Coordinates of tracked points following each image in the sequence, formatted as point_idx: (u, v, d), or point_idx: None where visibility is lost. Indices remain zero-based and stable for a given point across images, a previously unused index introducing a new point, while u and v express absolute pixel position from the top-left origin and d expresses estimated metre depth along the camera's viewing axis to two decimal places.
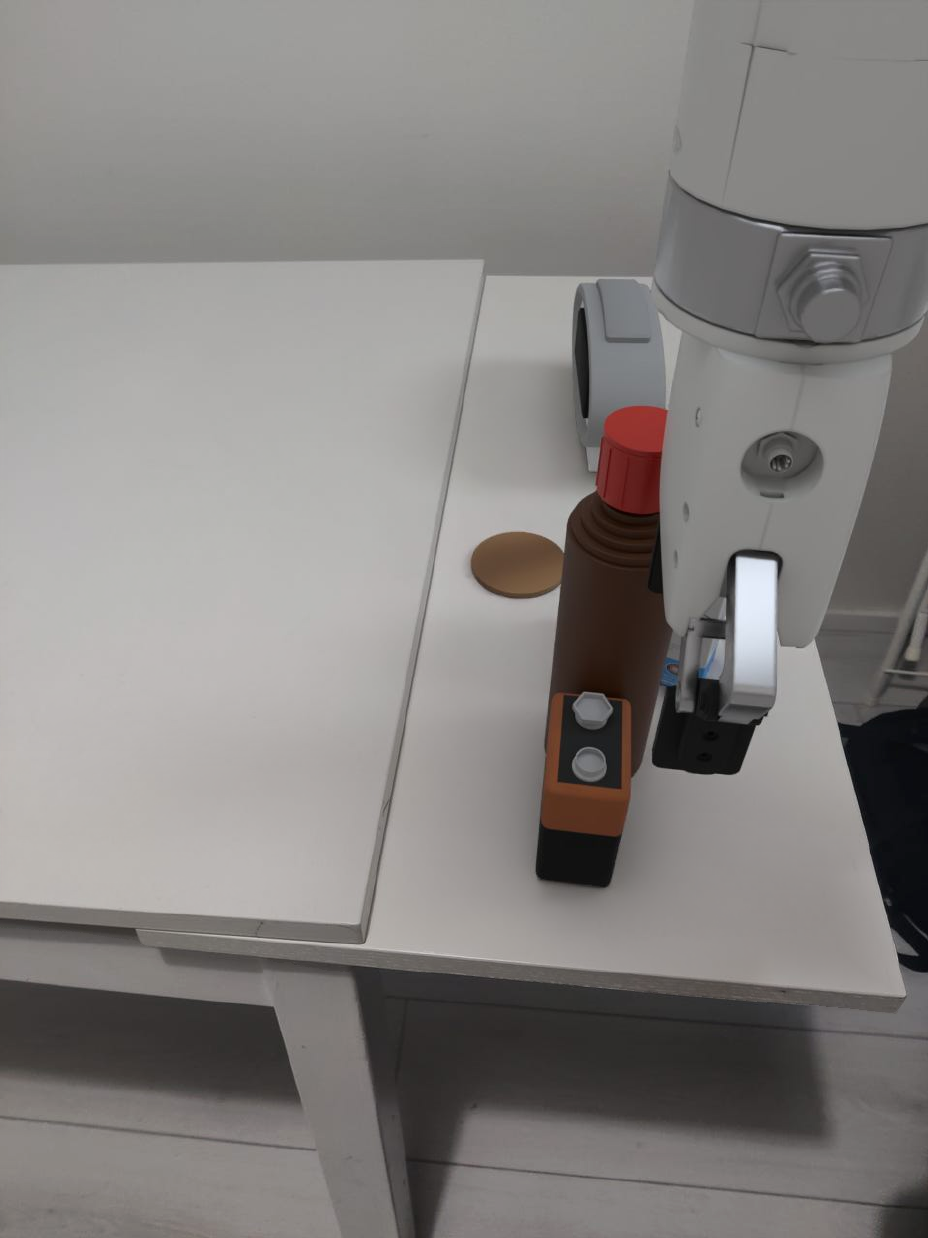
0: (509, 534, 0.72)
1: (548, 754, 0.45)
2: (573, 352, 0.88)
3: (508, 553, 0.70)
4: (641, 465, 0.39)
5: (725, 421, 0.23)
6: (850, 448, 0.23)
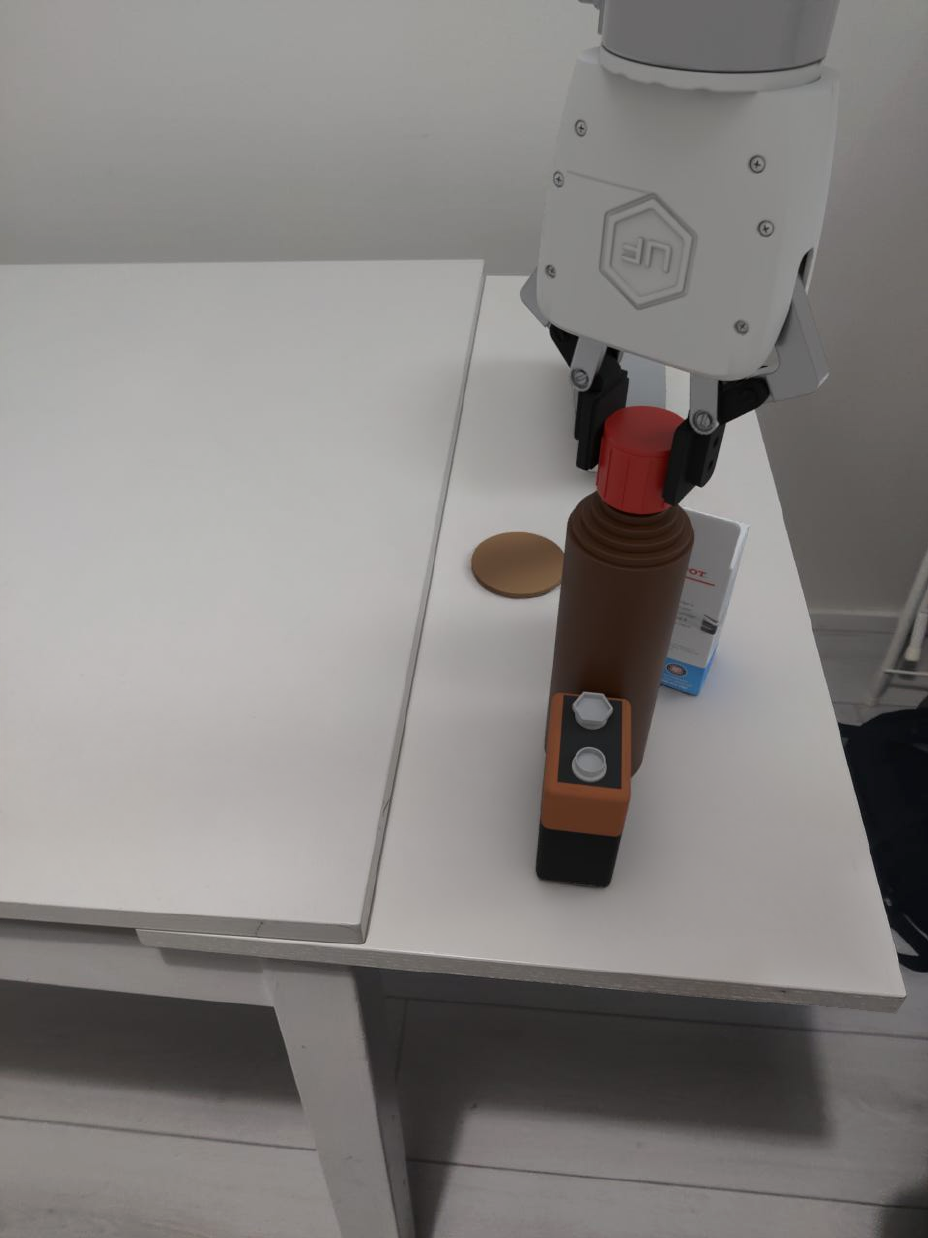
0: (509, 534, 0.72)
1: (548, 754, 0.45)
2: None
3: (508, 553, 0.70)
4: (641, 465, 0.39)
5: None
6: None
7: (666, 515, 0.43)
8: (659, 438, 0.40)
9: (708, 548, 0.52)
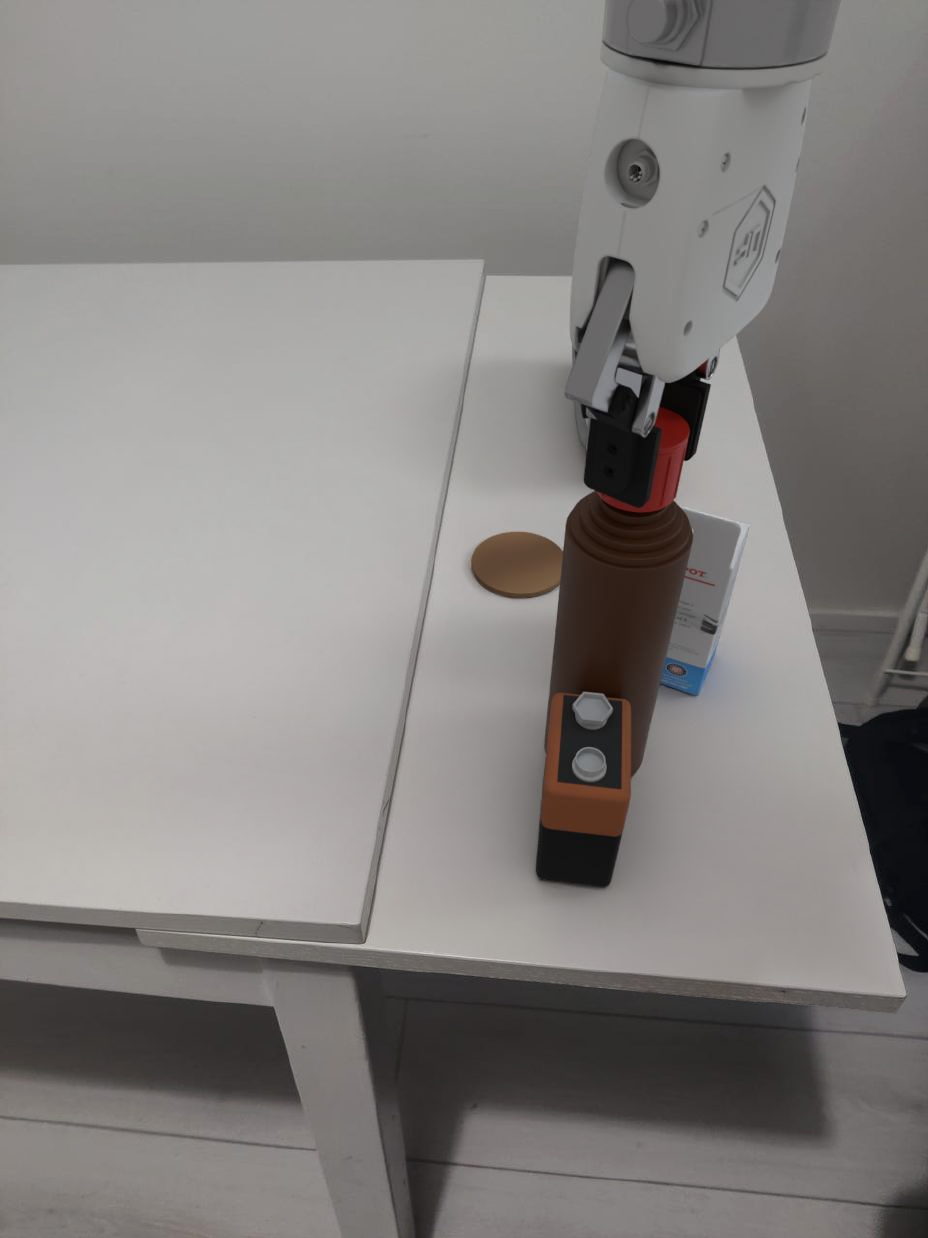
0: (509, 534, 0.72)
1: (548, 754, 0.45)
2: (573, 352, 0.88)
3: (508, 553, 0.70)
4: (686, 445, 0.40)
5: (599, 129, 0.29)
6: (681, 161, 0.28)
7: (665, 515, 0.43)
8: (664, 421, 0.40)
9: (708, 548, 0.52)
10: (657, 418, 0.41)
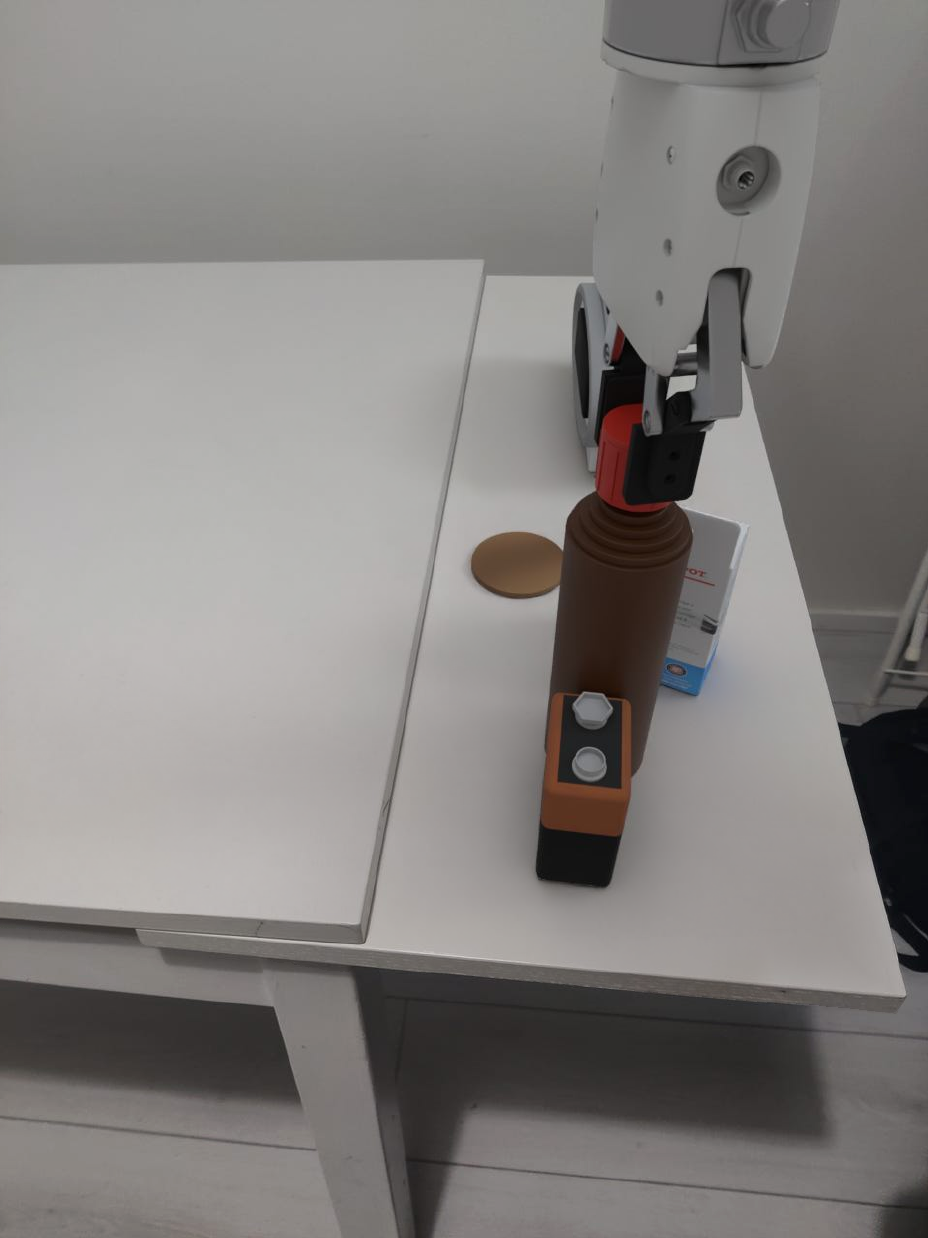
0: (509, 534, 0.72)
1: (548, 754, 0.45)
2: (573, 352, 0.88)
3: (508, 553, 0.70)
4: None
5: (700, 146, 0.28)
6: (799, 156, 0.28)
7: (665, 515, 0.43)
8: None
9: (708, 548, 0.52)
10: None
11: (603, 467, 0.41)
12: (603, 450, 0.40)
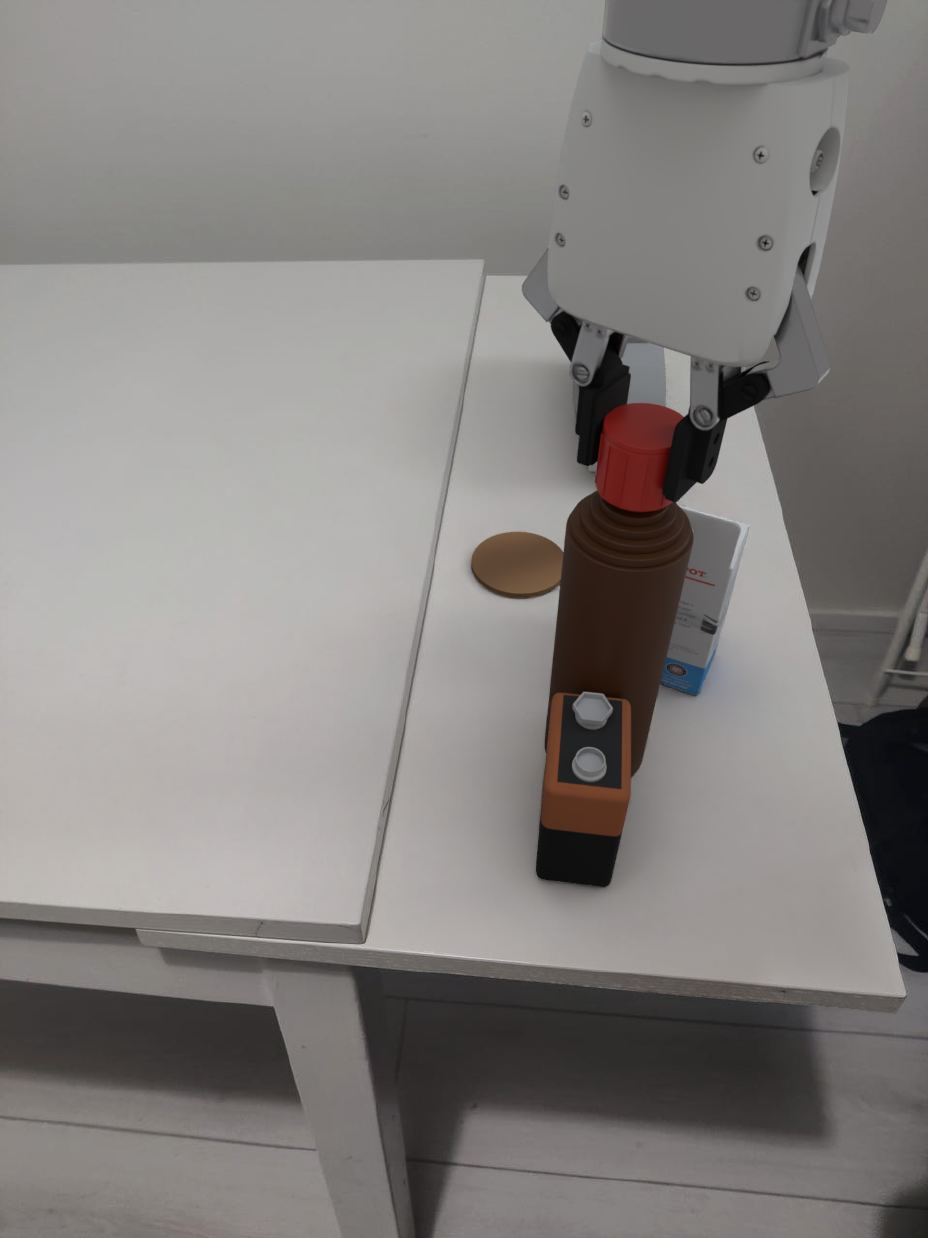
0: (509, 534, 0.72)
1: (548, 754, 0.45)
2: None
3: (508, 553, 0.70)
4: None
5: (800, 139, 0.28)
6: None
7: (665, 516, 0.42)
8: (635, 414, 0.41)
9: (708, 548, 0.52)
10: (631, 417, 0.40)
11: (627, 480, 0.40)
12: (627, 464, 0.39)
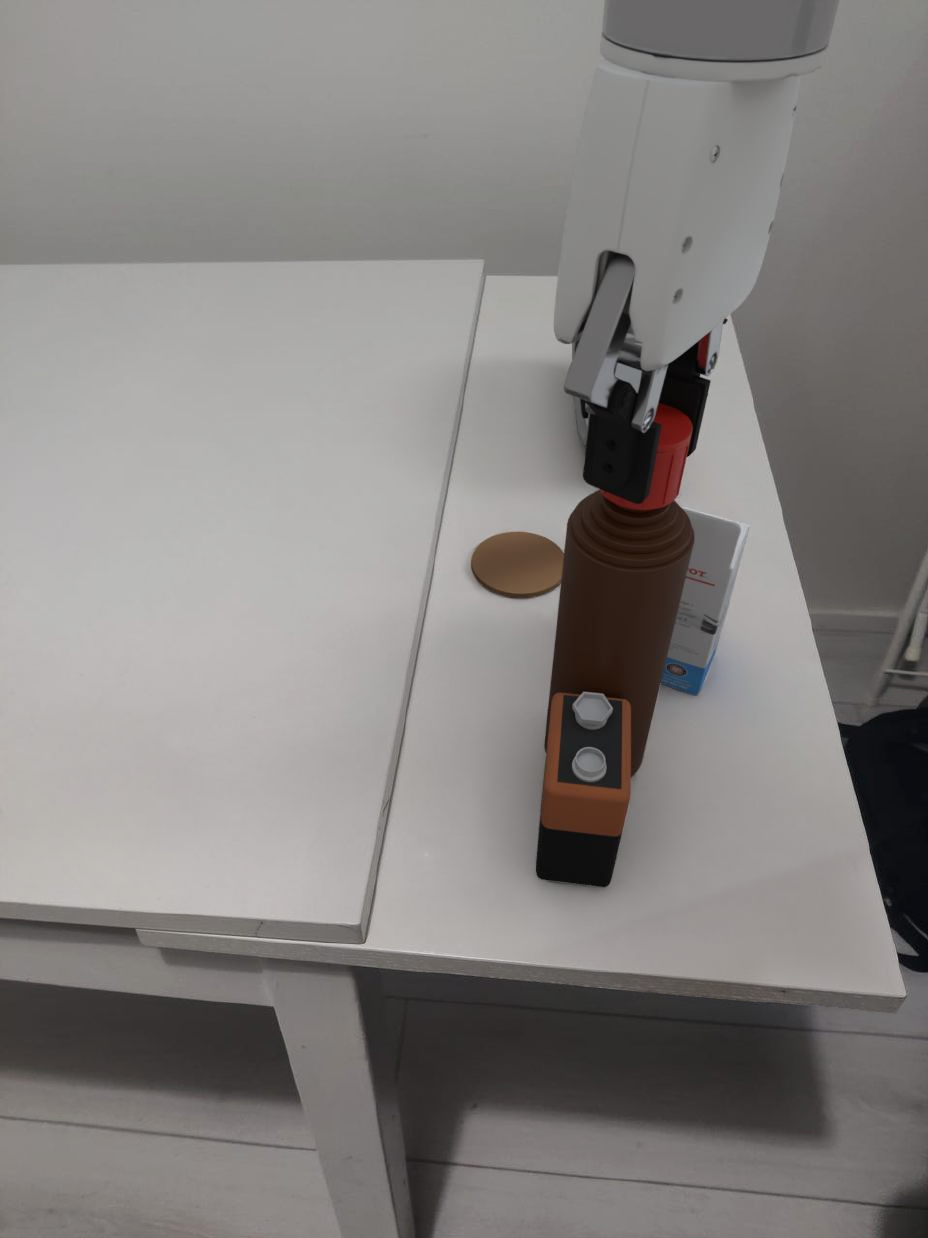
0: (509, 534, 0.72)
1: (548, 754, 0.45)
2: (573, 352, 0.88)
3: (508, 553, 0.70)
4: None
5: None
6: None
7: (666, 516, 0.43)
8: None
9: (708, 548, 0.52)
10: None
11: (682, 468, 0.41)
12: (686, 453, 0.40)
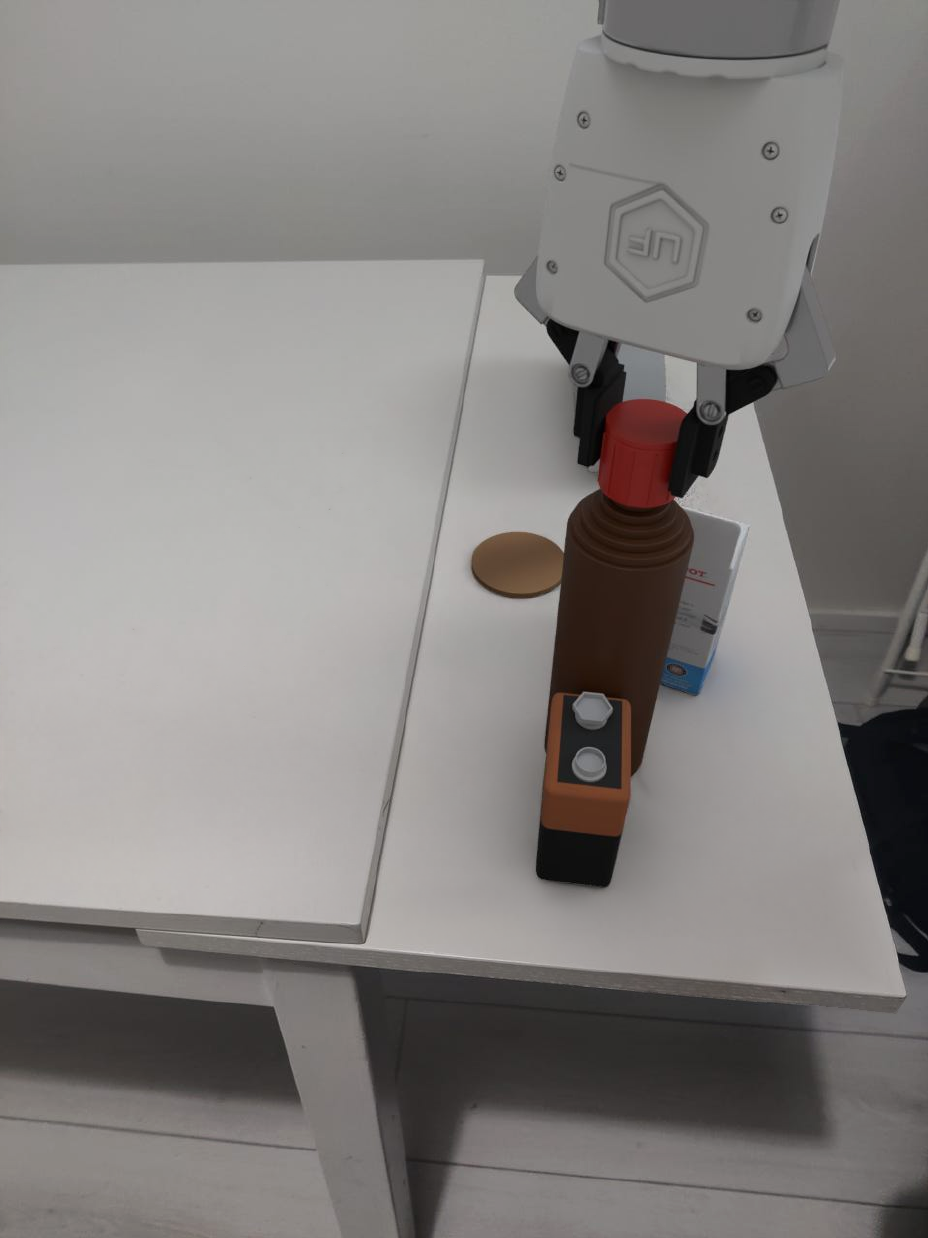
0: (509, 534, 0.72)
1: (548, 754, 0.45)
2: None
3: (508, 553, 0.70)
4: (647, 459, 0.39)
5: None
6: None
7: (666, 515, 0.43)
8: (662, 431, 0.39)
9: (708, 548, 0.52)
10: (666, 427, 0.39)
11: None
12: None
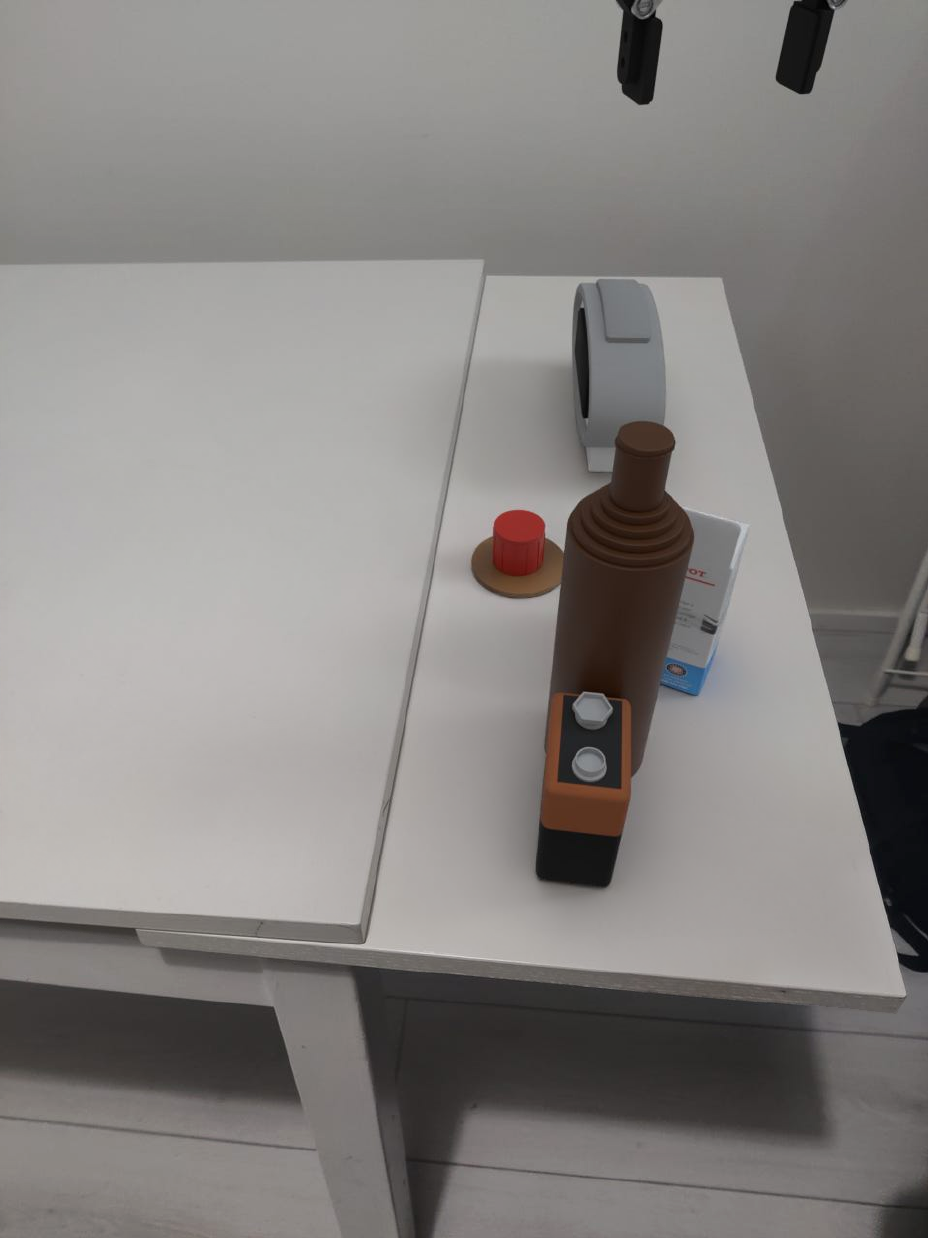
0: None
1: (548, 754, 0.45)
2: (573, 352, 0.88)
3: None
4: (535, 545, 0.67)
5: None
6: None
7: (666, 515, 0.43)
8: (532, 527, 0.67)
9: (708, 548, 0.52)
10: (531, 524, 0.67)
11: None
12: None
